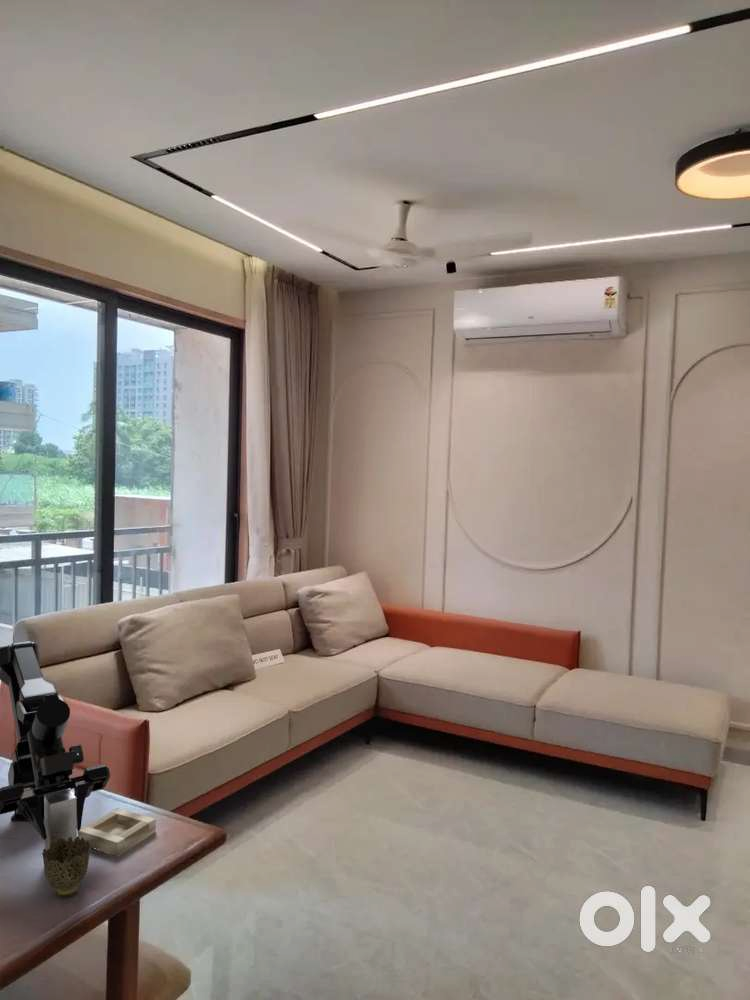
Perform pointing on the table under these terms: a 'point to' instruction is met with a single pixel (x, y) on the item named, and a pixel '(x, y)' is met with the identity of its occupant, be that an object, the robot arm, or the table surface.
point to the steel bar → (60, 816)
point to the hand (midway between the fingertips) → (62, 834)
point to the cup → (66, 865)
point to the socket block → (118, 831)
